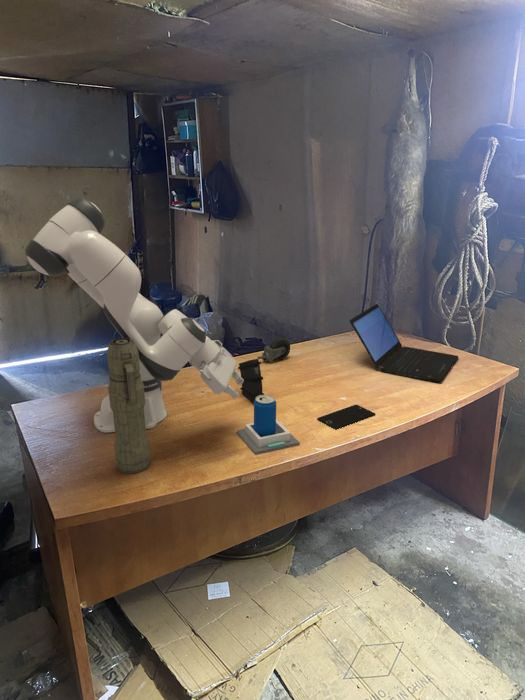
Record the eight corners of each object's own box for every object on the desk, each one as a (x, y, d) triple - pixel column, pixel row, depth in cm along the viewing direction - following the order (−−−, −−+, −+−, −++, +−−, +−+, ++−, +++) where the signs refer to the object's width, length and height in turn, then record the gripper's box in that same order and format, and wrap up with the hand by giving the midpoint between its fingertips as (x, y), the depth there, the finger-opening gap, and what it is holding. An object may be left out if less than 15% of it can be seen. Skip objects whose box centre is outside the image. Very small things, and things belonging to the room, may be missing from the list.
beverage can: (264, 428, 162) (264, 392, 158) (280, 435, 158) (281, 398, 154) (249, 436, 157) (249, 398, 153) (265, 443, 153) (265, 405, 149)
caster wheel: (283, 357, 226) (253, 361, 218) (285, 335, 224) (255, 338, 215) (291, 361, 222) (261, 365, 213) (293, 339, 219) (263, 342, 211)
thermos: (127, 480, 136) (114, 351, 124) (109, 460, 145) (95, 338, 133) (159, 468, 141) (148, 343, 129) (139, 450, 150) (128, 332, 138)
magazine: (258, 404, 176) (249, 360, 177) (243, 406, 188) (235, 364, 189) (268, 402, 177) (260, 358, 178) (252, 404, 189) (245, 362, 190)
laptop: (440, 385, 198) (446, 335, 191) (345, 366, 216) (348, 319, 209) (459, 359, 225) (465, 314, 218) (373, 343, 243) (377, 302, 236)
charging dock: (255, 454, 149) (255, 444, 148) (236, 432, 161) (236, 422, 160) (299, 444, 154) (299, 434, 153) (278, 424, 166) (278, 414, 165)
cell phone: (316, 420, 170) (316, 418, 170) (356, 406, 180) (356, 404, 180) (335, 431, 163) (335, 428, 163) (375, 416, 173) (376, 413, 173)
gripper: (205, 362, 142) (242, 397, 144) (219, 338, 161) (251, 370, 163) (189, 376, 143) (226, 411, 146) (205, 351, 163) (237, 382, 165)
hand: (239, 389), depth 155 cm, fingers open, 8 cm apart
